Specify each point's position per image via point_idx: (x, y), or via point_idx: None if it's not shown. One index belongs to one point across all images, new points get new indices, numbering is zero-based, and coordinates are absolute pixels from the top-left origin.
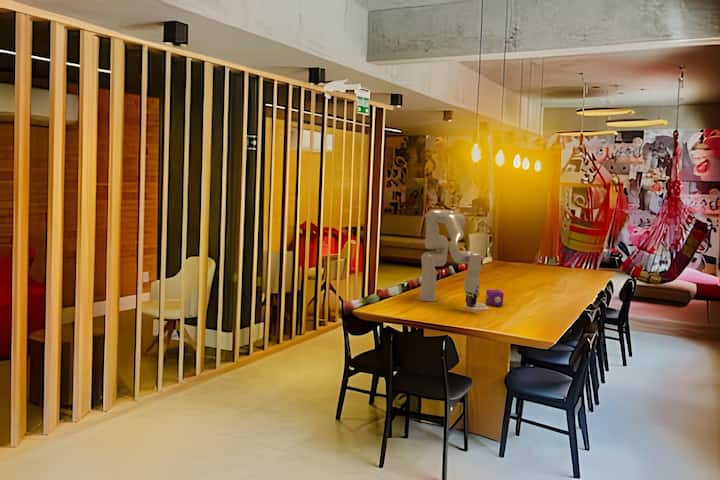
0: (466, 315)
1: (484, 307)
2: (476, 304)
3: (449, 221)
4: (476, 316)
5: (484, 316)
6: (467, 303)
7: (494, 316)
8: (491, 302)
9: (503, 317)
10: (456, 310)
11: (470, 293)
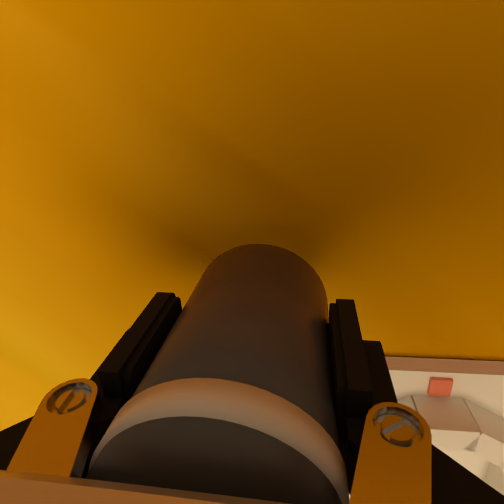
0: (77, 87)
1: None
2: None
3: None
4: (29, 195)
5: (39, 286)
6: (245, 266)
7: (49, 377)
8: None
9: (16, 419)
10: (416, 134)
11: (171, 484)
